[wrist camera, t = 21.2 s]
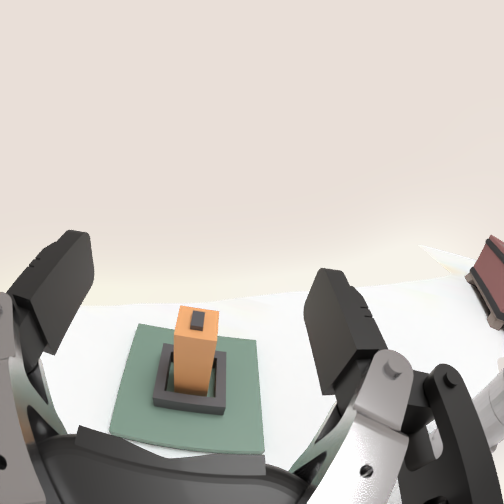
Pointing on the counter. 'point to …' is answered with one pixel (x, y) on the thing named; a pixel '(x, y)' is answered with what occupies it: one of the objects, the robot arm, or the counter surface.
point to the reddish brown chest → (491, 279)
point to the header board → (190, 398)
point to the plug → (194, 349)
